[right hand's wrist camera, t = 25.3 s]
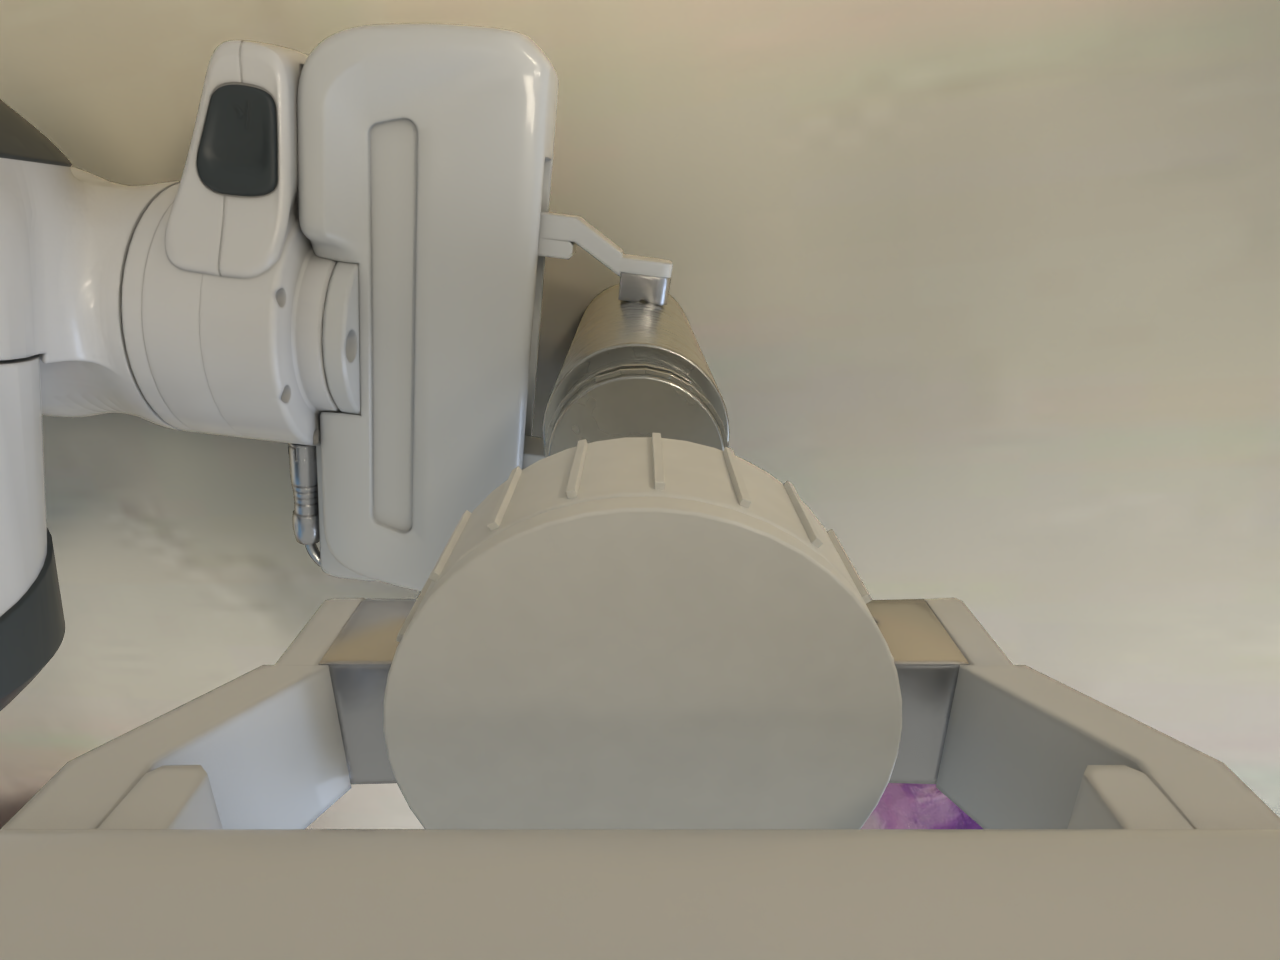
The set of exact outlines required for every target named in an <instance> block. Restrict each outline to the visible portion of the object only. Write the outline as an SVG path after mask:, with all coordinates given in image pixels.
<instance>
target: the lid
mask: <svg viewBox="0 0 1280 960" xmlns="http://www.w3.org/2000/svg"><path fill="white" fill-rule="evenodd" d="M870 601H872V598H871V597H870V595H869V593H868V591H867V590H866V588H865V586H864V584H863V582H862V581H861V579H860V577H859V575H858V574H857V572H856V570H855V568H854V567H853V565H852V563H851V561H850V559H849V558H848V556H847V554H846V552H845V551H844V549H843V547H842V545H841V544H840V542H839V540H838V538H837V536H836V535H835V533H834V531H833V530H832V529H831V530H829V531H828V532H826V530H825V528H824V527H823V526H822V524H821V523H820V522H819V520H818V519H817V518H816V516H815V515H814V514H813V512H812V511H811V510H810V508H809V507H808V506H807V505H806V504H805V503H804V502H803V501H802V500H801V499H800V497H799V495H798V493H797V491H796V489H795V487H794V485H793V484H792V483H790V482H789V481H787V482H786V483H785V484H782V483H781V482H780V481H778V480H777V479H776V478H774V477H773V476H772V475H770V474H769V473H768V472H766V471H764V470H762V469H760V468H759V467H757V466H755V465H753V464H751V463H749V462H748V461H746V460H744V459H742V458H739V457H737V456H735V454H734V451H733V449H731V448H728V447H725V449H724V451H721V450H719V449H716V448H713V447H709V446H705V445H701V444H697V443H693V442H689V441H683V440H675V439H667V438H661V433H652V437H625V438H618V439H610V440H603V441H595V442H592V443H588V444H587V441H586V439H583V440H579V441H578V443H577V446H576V447H573V448H569V449H566V450H563V451H561V452H558V453H556V454H553V455H551V456H548V457H546V458H543V459H541V460H539V461H537V462H535V463H534V464H532V465H530V466H528V467H527V468H525V469H523V470H521V469H520V467H519V466H518V467H516V468H514V469H513V470H512V471H511V474H510V476H509V478H508V480H506V481H505V482H504V483H503V484H501V485H500V486H499V487H497V488H496V489H495V490H493V491H492V492H491V493H490V494H489V495H488V496H487V497H486V498H485V499H484V500H483V501H482V502H481V503H480V504H479V505H478V506H477V507H476V508H475V509H474V511H473V512H472V513H471V512H469V511H468V510H466V511H465V513H464V514H463V515H462V517H461V519H460V521H459V522H458V524H457V526H456V528H455V530H454V532H453V534H452V535H451V537H450V539H449V541H448V543H447V545H446V546H445V548H444V550H443V552H442V554H441V556H440V558H439V559H438V561H437V563H436V565H435V567H434V568H433V570H432V572H431V574H430V576H429V578H428V580H427V581H426V583H425V585H424V587H423V589H422V591H421V592H420V594H419V596H418V598H417V600H416V602H415V604H414V605H413V607H412V609H411V611H410V613H409V615H408V616H407V618H406V620H405V622H404V624H403V626H402V628H401V629H400V631H399V633H398V636H397V639H396V641H398V642H400V643H399V645H398V647H397V649H396V652H395V655H394V658H393V661H392V664H391V667H390V670H389V673H388V677H387V684H386V690H385V696H384V735H385V740H386V746H387V752H388V757H389V761H390V764H391V767H392V770H393V773H394V775H395V778H396V781H397V784H398V786H399V788H400V790H401V792H402V794H403V796H404V798H405V800H406V801H407V803H408V805H409V807H410V809H411V810H412V812H413V813H414V814H415V816H416V817H417V819H418V820H419V821H420V823H421V824H422V826H423V827H424V828H425V829H861V828H862V826H863V825H864V823H865V822H866V820H867V819H868V818H869V816H870V815H871V813H872V812H873V810H874V809H875V808H876V806H877V804H878V802H879V800H880V798H881V797H882V795H883V793H884V791H885V789H886V787H887V785H888V783H889V780H890V777H891V774H892V771H893V768H894V765H895V762H896V759H897V756H898V750H899V744H900V738H901V731H902V696H901V691H900V685H899V679H898V673H897V670H896V667H895V664H894V658H893V656H892V654H891V652H890V650H889V647H888V644H887V642H886V640H885V639H884V637H883V635H882V633H881V631H880V629H879V627H878V626H877V624H876V622H875V620H874V618H873V616H872V615H871V613H870V611H869V609H868V607H867V605H866V604H867V603H868V602H870Z"/></svg>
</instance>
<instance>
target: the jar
mask: <svg viewBox="0 0 1280 960" xmlns="http://www.w3.org/2000/svg"><path fill="white" fill-rule="evenodd" d="M619 287H620V284H617V285H615V286H612V287H610V288H608V289H606V290H604V291H603V292H602V293H600V294H599V295H598V296H597V297H596V298H595V299H594V300H592V302H591V303H590V304H589V306H588V307H587V309H586V310H585V312H584V314H583V317H582V319H581V322H580V324H579V327H578V329H577V331H576V334H575V336H574V339H573V341H572V344H571V346H570V349H569V351H568V354H567V356H566V358H565V361H564V363H563V366H562V368H561V371H560V373H559V376H558V378H557V381H556V383H555V386H554V388H553V390H552V393H551V395H550V398H549V400H548V403H547V405H546V409H545V413H544V418H543V426H542V437H543V446H544V453H545V458H546V457H548V456H551V455H553V454H556V453H558V452H561V451H563V450H566V449H569V448H573V447H576V446H577V443H578V441H579V440H583V439H586V441H587V444H588V443H592V442H595V441H603V440H610V439H618V438H625V437H652V433H661V438H667V439H675V440H683V441H689V442H693V443H697V444H701V445H705V446H709V447H713V448H716V449H719V450H721V451H724V449H725V447H728V448H729V420H728V415H727V410H726V407H725V404H724V401H723V398H722V396H721V394H720V391H719V389H718V387H717V385H716V383H715V380H714V378H713V376H712V374H711V371H710V369H709V367H708V365H707V362H706V360H705V358H704V356H703V354H702V351H701V349H700V347H699V345H698V342H697V340H696V338H695V336H694V333H693V331H692V329H691V327H690V325H689V322H688V320H687V318H686V316H685V314H684V312H683V310H682V308H681V307H680V305H679V304H678V303H677V301H676V300H675V299H674V298H673V297H672V296H671V295H669V294H668V300H667V305H654V304H651V303H648V302H647V301H645V300H644V299H642V300H640V301H638V302H630V301H623V300H618V298H619Z"/></svg>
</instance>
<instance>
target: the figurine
mask: <svg viewBox="0 0 1280 960" xmlns="http://www.w3.org/2000/svg"><path fill="white" fill-rule="evenodd" d="M861 829H983V828H982V827H981V826H980V825H978V824H977V823H976V822H975V821H974V820H973V819H972V818H970V817H969V816H968V815H967V814H966V813H965V812H964V811H962V810H961V809H960V808H959V807H958V806H957V805H956V804H954V803H953V802H952V801H951V800H950V799H949V798H948V797H946V796H945V795H944V794H943V793H942V792H941V791H940V790H938V789H937V788H936V784H907V783H888V785H887V787H886V789H885V791H884V793H883V795H882V797H881V798H880V800H879V802H878V804H877V806H876V808H875V809H874V810H873V812H872V813H871V815H870V816H869V818H868V819H867V820H866V822H865V823H864V825H863V826H862V828H861Z"/></svg>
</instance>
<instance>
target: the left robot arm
mask: <svg viewBox="0 0 1280 960" xmlns="http://www.w3.org/2000/svg"><path fill="white" fill-rule="evenodd" d="M557 98H558V76H557V73H556V71H555V69H554V67H553V65H552V63H551V62H550V60H549V59H548V57H547V56H546V54H545V53H544V52H543V51H542V50H541V48H540V47H539V46H538V45H537V44H536V43H535V42H534V41H533V40H532V39H531V38H529V37H528V36H526V35H524V34H522V33H519V32H516V31H511V30H506V29H499V28H493V27H482V26H471V25H456V24H431V23H403V24H377V25H365V26H357V27H353V28H348V29H345V30H342V31H339V32H337V33H334V34H332V35H330V36H329V37H327V38H325V39H324V40H323V41H321V42H320V43H319V44H318V45H317V46H316V47H315V48H314V49H313V50H312V52H311V53H310V55H307V54H304V53H301V52H299V51H296V50H293V49H290V48H286V47H282V46H278V45H273V44H268V43H263V42H255V41H243V40H230V41H225V42H223V43H221V44H220V45H219V46H218V47H217V48H216V49H215V51H214V52H213V54H212V56H211V59H210V61H209V65H208V68H207V72H206V76H205V81H204V86H203V90H202V95H201V100H200V104H199V109H198V114H197V118H196V123H195V127H194V131H193V135H192V140H191V144H190V148H189V152H188V155H187V159H186V163H185V167H184V171H183V174H182V177H181V181H172V182H164V183H157V184H151V185H141V186H127V185H121V184H118V183H114V182H111V181H108V180H105V179H103V178H101V177H99V176H96V175H94V174H92V173H89V172H87V171H84V170H81V169H78V168H74V167H71V165H72V164H71V163H70V161H69V160H68V159H67V158H66V157H65V156H64V154H63V153H62V152H61V151H60V150H59V149H58V148H57V147H56V146H55V145H54V144H53V143H52V142H51V141H50V140H48V139H47V138H46V137H45V136H44V135H43V134H42V133H41V132H39V131H38V130H37V129H36V128H35V127H34V126H32V125H31V124H30V123H29V122H27V121H26V120H25V119H24V118H23V117H21V116H20V115H19V114H18V113H16V112H15V111H14V110H13V109H11V108H10V107H9V106H8V105H6V104H5V103H4V102H3V101H2V100H0V711H1V710H2V709H3V708H4V707H6V706H7V705H8V704H9V703H10V702H11V701H12V700H13V699H14V698H15V697H16V696H17V695H18V694H19V693H20V692H21V691H22V690H23V689H24V688H25V687H26V686H27V685H28V684H29V683H30V682H31V681H32V680H33V679H34V678H35V677H36V675H37V674H38V673H39V672H40V671H41V670H42V668H43V667H44V666H45V665H46V664H47V663H48V662H49V660H50V659H51V658H52V657H53V656H54V654H55V653H56V651H57V650H58V648H59V646H60V645H61V642H62V640H63V637H64V633H65V621H64V615H63V608H62V602H61V595H60V589H59V582H58V576H57V569H56V563H55V556H54V550H53V543H52V537H51V534H50V532H49V530H48V528H47V524H46V500H45V476H44V452H43V429H42V415H47V416H56V417H85V416H93V415H99V414H104V413H125V414H130V415H134V416H138V417H140V418H142V419H145V420H147V421H149V422H152V423H154V424H157V425H160V426H163V427H166V428H170V429H174V430H180V431H188V432H198V433H206V434H214V435H223V436H232V437H241V438H249V439H257V440H266V441H274V442H283V443H288V451H289V465H290V477H291V483H292V489H293V494H294V501H295V502H294V509H295V510H294V511H293V516H292V523H293V531H294V535H295V538H296V540H297V542H298V543H300V544H304V545H305V547H306V549H307V552H308V554H309V555H310V557H311V558H312V559H313V560H314V562H315V563H316V564H317V565H318V566H320V567H321V569H322V570H323V571H324V572H325V573H327V574H329V575H331V576H334V577H338V578H346V579H355V580H364V581H380V582H384V583H388V584H392V585H395V586H399V587H403V588H407V589H411V590H416V591H420V592H421V591H422V589H423V587H424V585H425V583H426V581H427V580H428V578H429V576H430V574H431V572H432V570H433V568H434V567H435V565H436V563H437V561H438V559H439V558H440V556H441V554H442V552H443V550H444V548H445V546H446V545H447V543H448V541H449V539H450V537H451V535H452V534H453V532H454V530H455V528H456V526H457V524H458V522H459V521H460V519H461V517H462V515H463V514H464V513H465V511H466V510H468V511H469V512H471V513H472V512H473V511H474V509H475V508H476V507H477V506H478V505H479V504H480V503H481V502H482V501H483V500H484V499H485V498H486V497H487V496H488V495H489V494H490V493H491V492H492V491H493V490H495V489H496V488H497V487H499V486H500V485H501V484H503V483H504V482H505V481H506V480H508V478H509V476H510V474H511V471H512V470H513V469H514V468H516V467H518V466H519V467H520V469H521V470H523V469H525V468H527V467H528V466H530V465H532V464H534V463H535V462H537V461H539V460H541V459H543V458H545V453H544V446H543V438H540V437H532V426H533V413H534V400H535V387H536V374H537V361H538V348H539V334H540V321H541V308H542V295H543V282H544V269H545V257H553V258H561V259H569V258H570V257H572V256H573V255H574V254H575V253H576V249H577V245H579V246H580V247H581V248H583V249H584V250H585V251H587V252H588V253H589V254H591V255H592V256H593V257H595V258H596V259H597V260H598V261H600V262H601V263H602V264H604V265H605V266H606V267H608V268H609V269H610V270H612V271H613V272H614V273H616V274H617V275H618V276H620V273H621V277H620V287H619V298H618V300H623V301H630V302H638V301H640V300H642V299H644V300H645V301H647V302H648V303H651V304H654V305H667V300H668V294H669V287H670V281H671V273H672V267H673V263H672V261H669V260H665V259H659V258H652V257H644V256H637V255H629V254H623V250H622V249H621V248H620V247H619V246H617V245H616V244H615V243H614V242H612V241H611V240H610V239H608V238H607V237H606V236H605V235H603V234H602V233H601V232H600V231H598V230H597V229H596V228H594V227H593V226H592V225H591V224H589V223H588V222H587V221H586V220H584V219H583V218H582V217H580V216H575V215H568V214H560V213H553V212H549V203H550V190H551V177H552V164H553V151H554V138H555V125H556V112H557ZM319 541H320V551H319V550H318V548H317V546H316V543H317V542H319Z"/></svg>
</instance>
